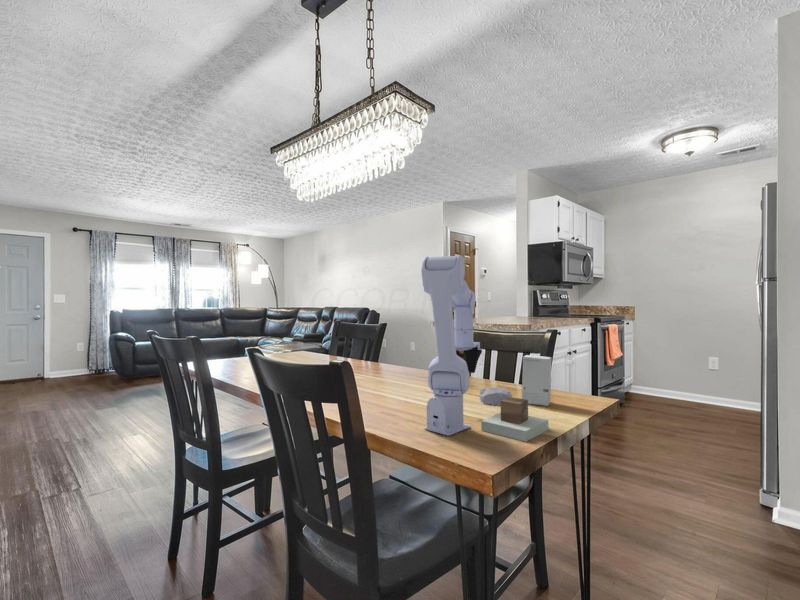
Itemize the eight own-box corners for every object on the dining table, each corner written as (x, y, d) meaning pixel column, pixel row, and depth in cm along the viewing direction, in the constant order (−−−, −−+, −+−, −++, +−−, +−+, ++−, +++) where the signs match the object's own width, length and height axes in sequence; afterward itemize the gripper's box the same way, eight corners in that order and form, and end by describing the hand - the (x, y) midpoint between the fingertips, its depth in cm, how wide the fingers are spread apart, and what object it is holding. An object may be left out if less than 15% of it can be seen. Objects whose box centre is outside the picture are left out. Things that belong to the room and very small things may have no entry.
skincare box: (521, 403, 126) (521, 356, 126) (525, 399, 131) (524, 354, 131) (549, 406, 122) (549, 358, 122) (552, 402, 127) (551, 355, 127)
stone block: (483, 411, 125) (515, 405, 124) (479, 396, 125) (511, 389, 124) (479, 403, 137) (508, 397, 136) (476, 389, 137) (505, 383, 136)
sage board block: (526, 444, 92) (525, 431, 92) (481, 432, 100) (481, 420, 100) (548, 431, 100) (548, 419, 100) (505, 422, 109) (505, 411, 109)
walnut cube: (519, 424, 97) (519, 403, 97) (500, 420, 100) (500, 400, 100) (528, 419, 101) (527, 399, 101) (509, 416, 104) (509, 396, 104)
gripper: (460, 331, 113) (460, 379, 113) (488, 328, 123) (488, 372, 123) (440, 330, 118) (441, 376, 118) (469, 327, 128) (469, 369, 128)
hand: (464, 374), depth 121 cm, fingers open, 7 cm apart
